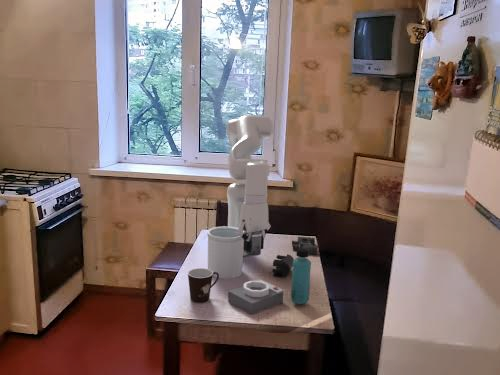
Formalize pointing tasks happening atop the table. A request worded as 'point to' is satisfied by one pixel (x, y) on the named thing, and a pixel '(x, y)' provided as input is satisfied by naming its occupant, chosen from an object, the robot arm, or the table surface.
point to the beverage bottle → (301, 277)
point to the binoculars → (305, 244)
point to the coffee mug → (200, 284)
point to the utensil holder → (225, 251)
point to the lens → (255, 243)
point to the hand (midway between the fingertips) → (253, 249)
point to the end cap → (282, 265)
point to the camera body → (255, 296)
